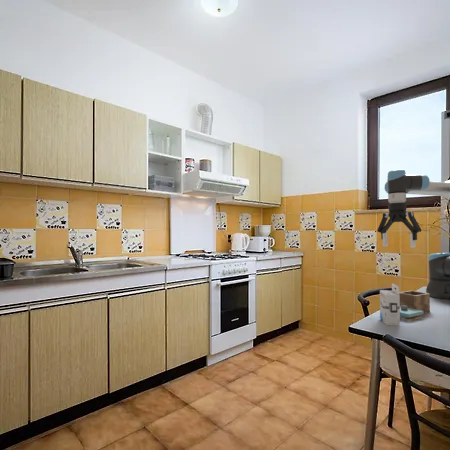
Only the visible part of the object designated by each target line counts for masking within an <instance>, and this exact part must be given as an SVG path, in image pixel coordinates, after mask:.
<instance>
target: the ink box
mask: <svg viewBox="0 0 450 450" xmlns="http://www.w3.org/2000/svg"><path fill="white" fill-rule="evenodd" d="M399 292H400V286H399V285H397V284H395V283H391V290H388V289H387V290H386V289H385V290H384V289H380V290H379V316H380V317H379V318H380V320H381V321H382V322H383V323H384V324H385V325H386V326H398V327H400V326H401V319H400V295H399Z"/></svg>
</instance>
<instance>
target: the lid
mask: <svg viewBox="0 0 450 450" xmlns="http://www.w3.org/2000/svg"><path fill="white" fill-rule="evenodd" d="M424 314H425V313H424V311H421V310H417V309H412V308H408V306H405V305H401V306H400V317H401V318H410V317H414V316H422V315H424Z"/></svg>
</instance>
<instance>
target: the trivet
mask: <svg viewBox="0 0 450 450" xmlns="http://www.w3.org/2000/svg"><path fill="white" fill-rule="evenodd" d="M418 319H423V316H422V315H417V316H414V317H410V318H401V317H400V320H404V321H408V322H411V321H414V320H418Z"/></svg>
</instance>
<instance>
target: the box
mask: <svg viewBox="0 0 450 450" xmlns="http://www.w3.org/2000/svg"><path fill="white" fill-rule="evenodd" d="M399 295H400V306H401V305H405V306H408V308H412V309H417V310H421V311H424V314H427V313H431V302H430V300H431V299H430V297H431V296H430V294H429V293H426V292H422V291H416V290H407V291H399Z"/></svg>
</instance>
